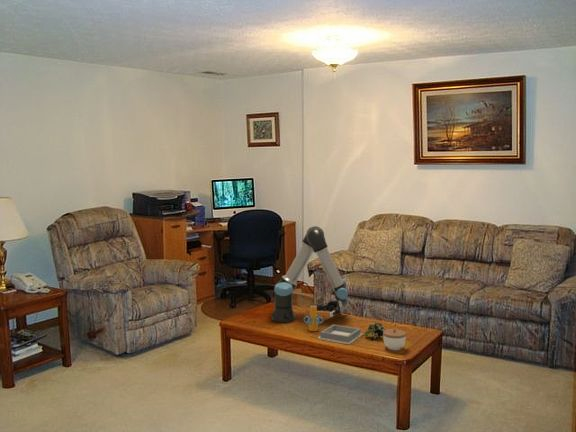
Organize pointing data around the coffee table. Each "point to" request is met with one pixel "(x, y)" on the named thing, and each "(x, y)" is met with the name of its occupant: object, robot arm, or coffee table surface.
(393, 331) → the lidded bowl
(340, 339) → the holder tray
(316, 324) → the orange tube
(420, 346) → the coffee table surface
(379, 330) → the passion flower
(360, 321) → the coffee table surface
